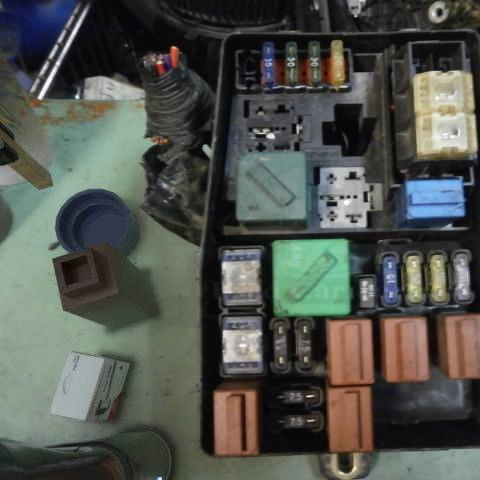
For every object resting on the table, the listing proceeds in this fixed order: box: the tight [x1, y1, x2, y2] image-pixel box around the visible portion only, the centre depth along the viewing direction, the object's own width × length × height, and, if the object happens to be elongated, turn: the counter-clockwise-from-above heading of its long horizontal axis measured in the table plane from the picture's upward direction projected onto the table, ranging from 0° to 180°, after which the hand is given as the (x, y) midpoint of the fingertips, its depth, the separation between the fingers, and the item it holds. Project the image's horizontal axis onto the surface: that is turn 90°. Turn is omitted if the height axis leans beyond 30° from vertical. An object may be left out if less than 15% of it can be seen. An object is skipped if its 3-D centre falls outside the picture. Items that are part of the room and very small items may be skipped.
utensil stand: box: [51, 242, 156, 329], centre depth 75 cm, size 7×7×21 cm
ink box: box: [49, 349, 131, 422], centre depth 76 cm, size 9×5×12 cm, turn 168°
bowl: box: [54, 188, 140, 258], centre depth 85 cm, size 11×11×6 cm
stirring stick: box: [0, 128, 54, 191], centre depth 60 cm, size 2×2×14 cm
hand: (7, 150), depth 58 cm, fingers closed on stirring stick, 2 cm apart
